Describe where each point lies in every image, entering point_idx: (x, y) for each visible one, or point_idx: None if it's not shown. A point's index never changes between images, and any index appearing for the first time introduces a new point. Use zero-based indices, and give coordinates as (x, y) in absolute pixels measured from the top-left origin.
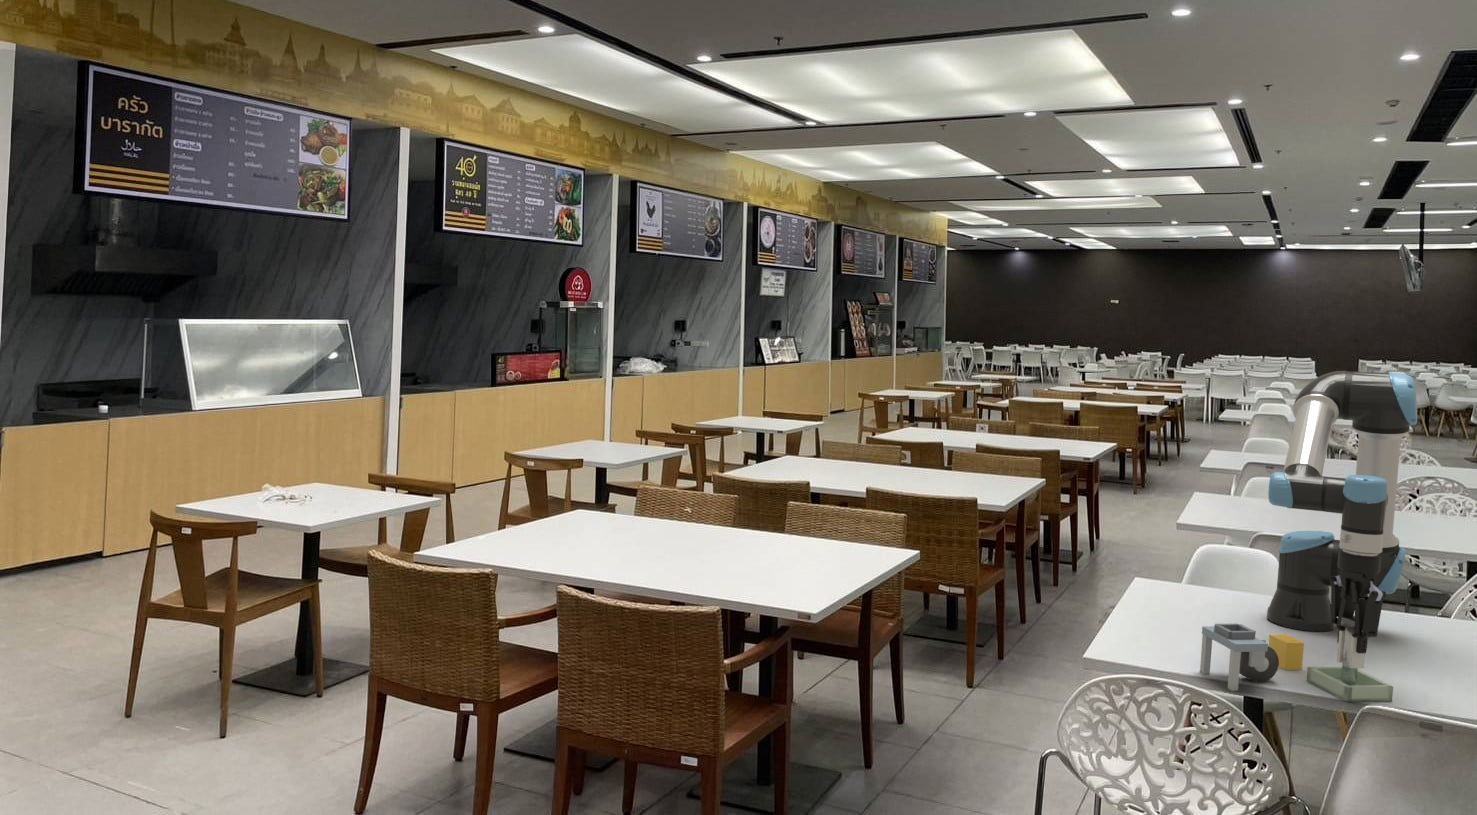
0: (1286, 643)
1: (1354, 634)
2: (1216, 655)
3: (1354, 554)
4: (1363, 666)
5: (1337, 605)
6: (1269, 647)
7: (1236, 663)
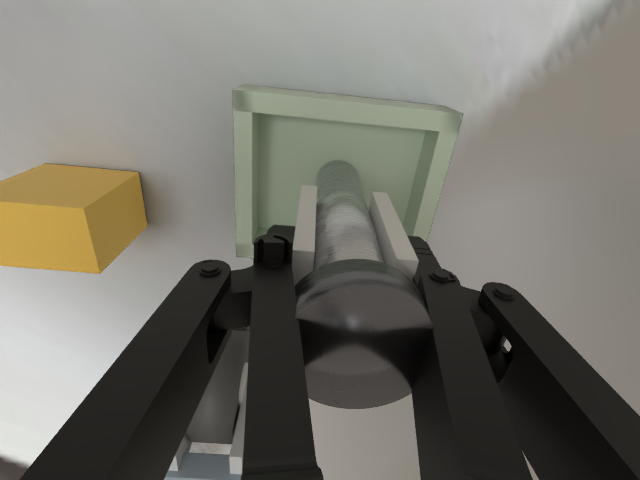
0: (99, 272)
1: None
2: (36, 314)
3: None
4: (386, 195)
5: (186, 414)
6: (232, 413)
7: None
